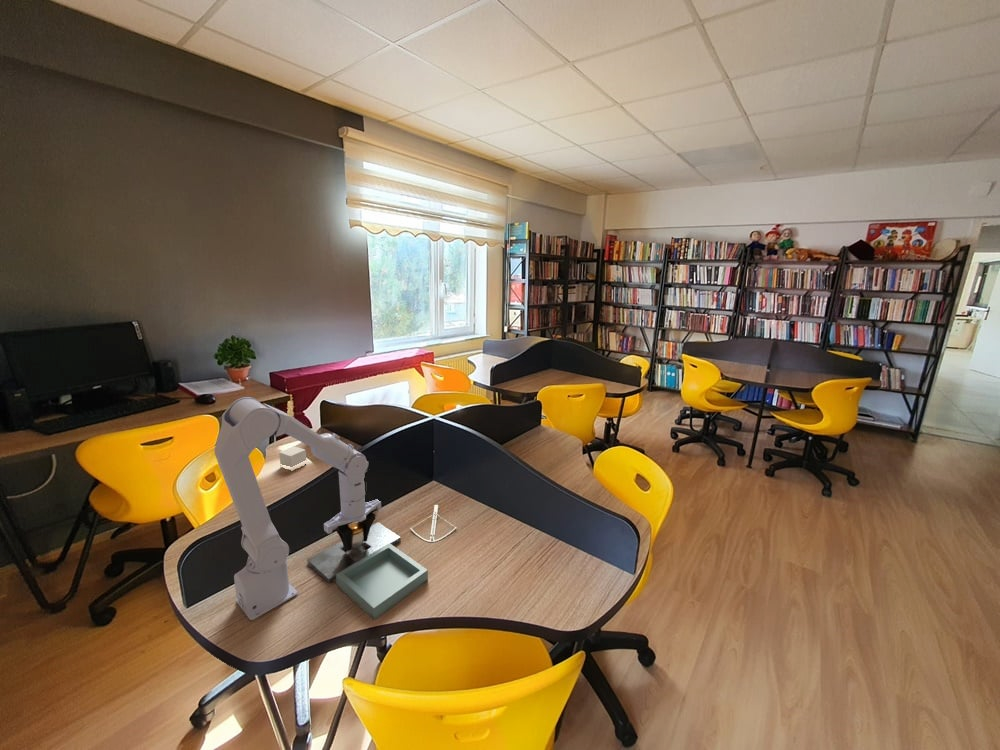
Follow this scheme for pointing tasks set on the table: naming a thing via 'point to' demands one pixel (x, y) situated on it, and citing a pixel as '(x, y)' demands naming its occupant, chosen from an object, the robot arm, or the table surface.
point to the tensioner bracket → (338, 560)
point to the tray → (381, 580)
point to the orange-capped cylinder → (356, 539)
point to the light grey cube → (292, 456)
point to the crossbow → (433, 527)
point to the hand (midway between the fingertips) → (355, 544)
